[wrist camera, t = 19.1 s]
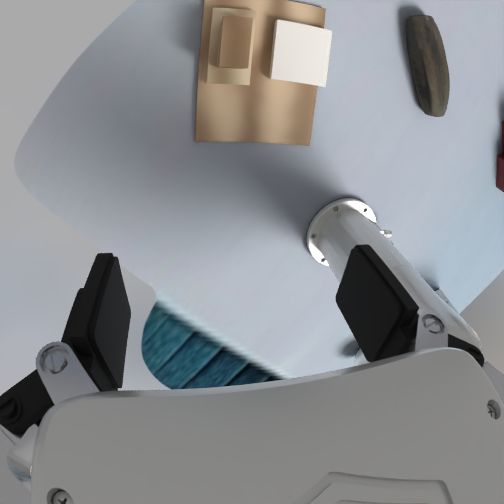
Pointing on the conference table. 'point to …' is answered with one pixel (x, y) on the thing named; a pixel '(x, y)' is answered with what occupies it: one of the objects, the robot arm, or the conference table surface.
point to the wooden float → (231, 46)
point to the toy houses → (501, 165)
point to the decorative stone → (428, 64)
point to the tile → (300, 53)
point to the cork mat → (257, 83)
